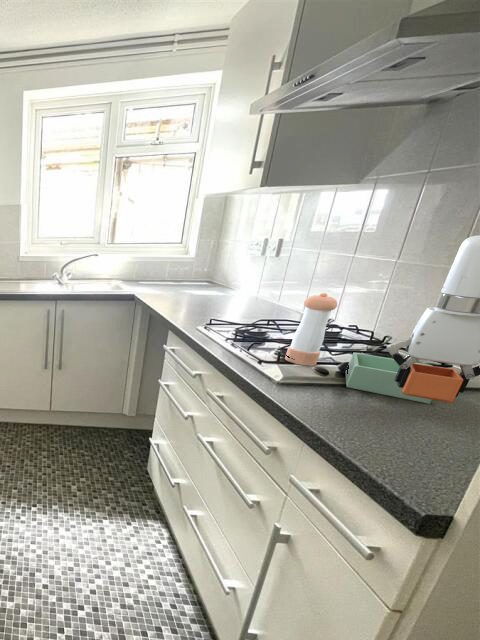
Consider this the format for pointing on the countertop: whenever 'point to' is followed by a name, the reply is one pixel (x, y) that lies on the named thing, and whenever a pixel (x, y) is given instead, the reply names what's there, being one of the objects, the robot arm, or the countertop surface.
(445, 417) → the countertop surface
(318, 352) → the pepper shaker
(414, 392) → the small bin
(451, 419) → the countertop surface
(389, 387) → the big bin
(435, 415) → the countertop surface
